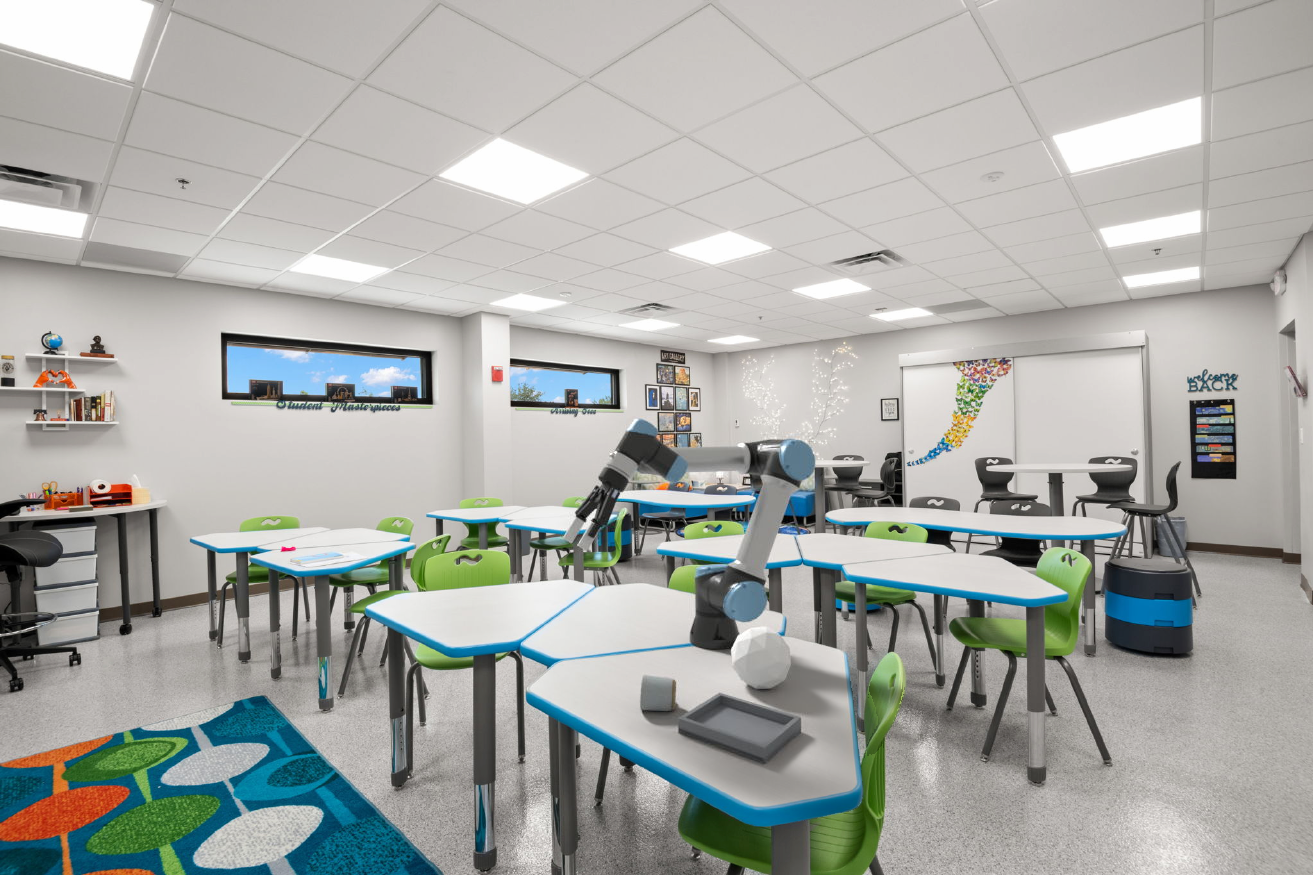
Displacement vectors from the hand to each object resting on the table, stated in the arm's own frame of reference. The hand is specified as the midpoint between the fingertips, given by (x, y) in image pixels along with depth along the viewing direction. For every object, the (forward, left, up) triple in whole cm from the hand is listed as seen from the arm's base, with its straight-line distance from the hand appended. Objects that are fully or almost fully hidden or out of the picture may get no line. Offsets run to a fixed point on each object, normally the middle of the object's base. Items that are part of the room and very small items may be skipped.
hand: (574, 544), depth 151 cm
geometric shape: (-27, +38, -35) cm, 58 cm away
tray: (-3, +46, -35) cm, 57 cm away
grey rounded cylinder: (-2, +25, -35) cm, 43 cm away
